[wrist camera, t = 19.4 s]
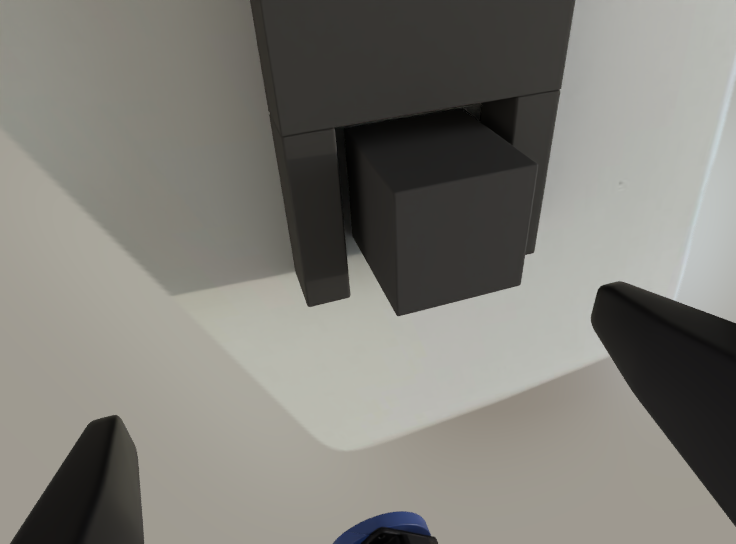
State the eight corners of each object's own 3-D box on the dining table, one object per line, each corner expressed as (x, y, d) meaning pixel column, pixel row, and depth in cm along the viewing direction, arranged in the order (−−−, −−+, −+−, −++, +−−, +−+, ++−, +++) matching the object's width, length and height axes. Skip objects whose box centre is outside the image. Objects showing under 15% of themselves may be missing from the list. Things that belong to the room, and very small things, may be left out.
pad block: (455, 214, 24) (521, 285, 19) (352, 237, 23) (397, 317, 18) (461, 107, 21) (539, 163, 16) (343, 127, 20) (393, 193, 15)
